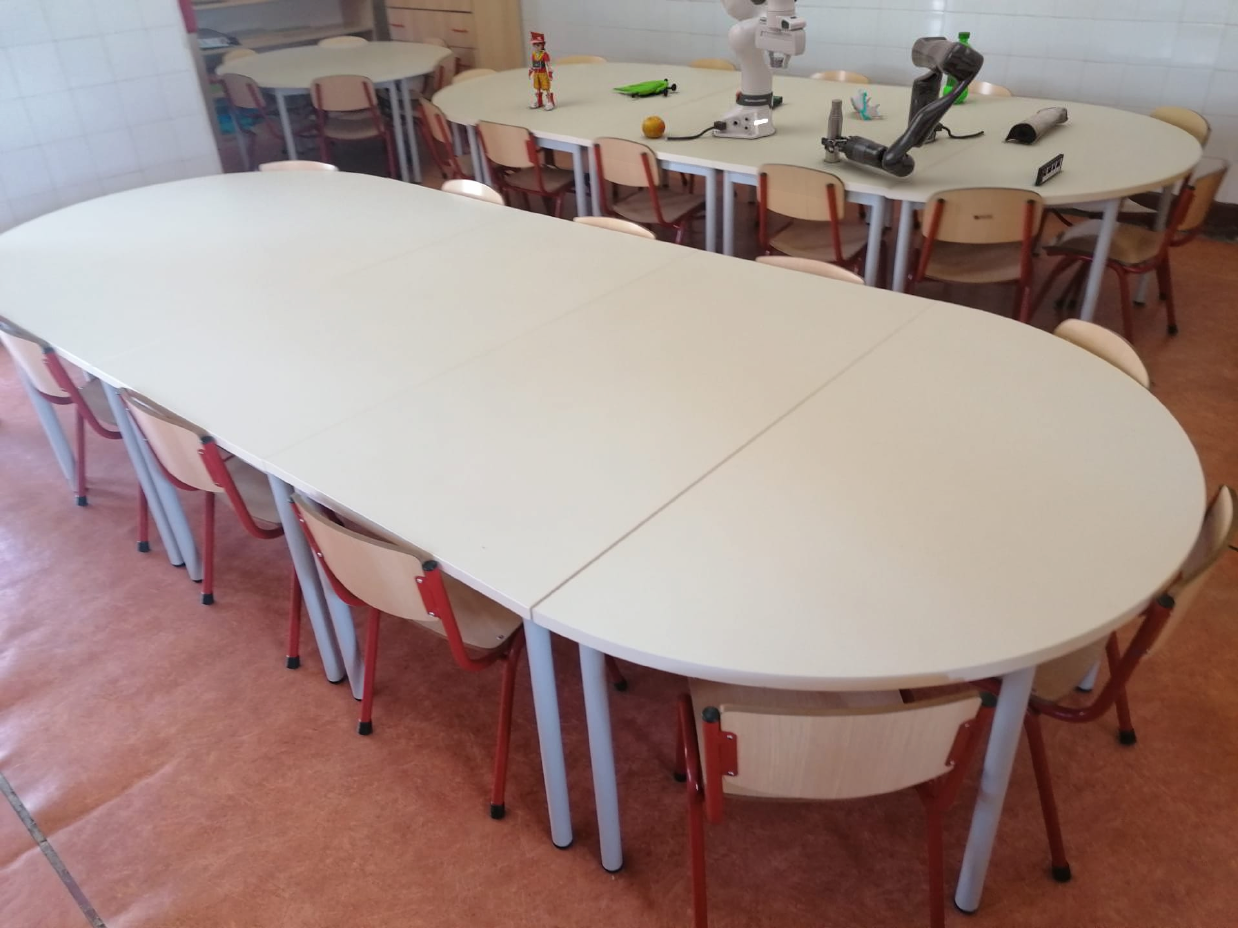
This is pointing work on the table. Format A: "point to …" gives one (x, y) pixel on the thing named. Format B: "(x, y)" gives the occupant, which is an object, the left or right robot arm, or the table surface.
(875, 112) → the anatomical model
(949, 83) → the plastic bottle
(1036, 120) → the rolled mat
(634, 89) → the toy
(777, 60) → the cap
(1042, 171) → the midi keyboard
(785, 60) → the left robot arm
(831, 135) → the bottle
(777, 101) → the disk drive
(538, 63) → the toy
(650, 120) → the fruit
